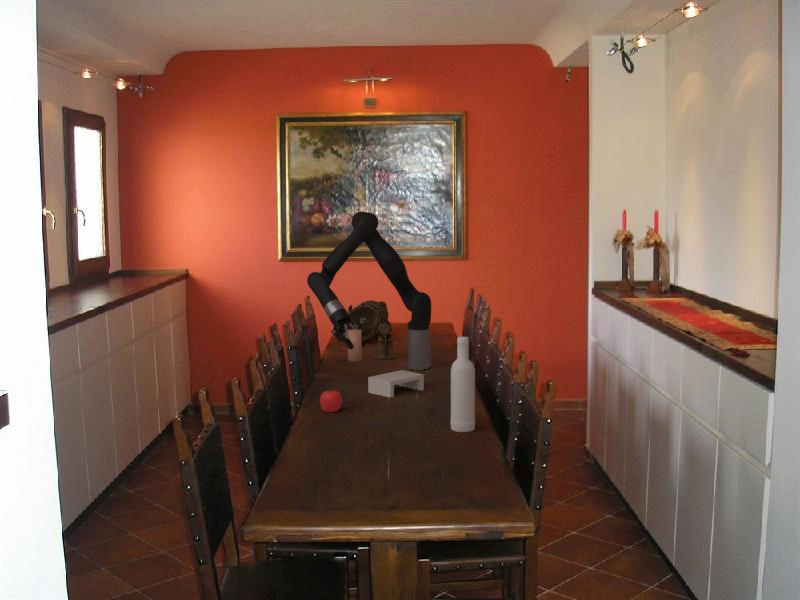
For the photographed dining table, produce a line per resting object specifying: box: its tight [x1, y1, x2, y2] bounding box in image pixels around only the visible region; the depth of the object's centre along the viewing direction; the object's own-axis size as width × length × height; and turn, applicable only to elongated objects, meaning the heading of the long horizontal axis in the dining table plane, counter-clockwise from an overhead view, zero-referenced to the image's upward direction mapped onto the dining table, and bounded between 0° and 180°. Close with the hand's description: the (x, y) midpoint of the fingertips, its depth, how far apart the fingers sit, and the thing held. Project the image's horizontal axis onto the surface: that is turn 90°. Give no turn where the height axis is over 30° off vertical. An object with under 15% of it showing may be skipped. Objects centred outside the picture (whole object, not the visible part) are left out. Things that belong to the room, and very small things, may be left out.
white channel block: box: [367, 369, 425, 398], centre depth 342 cm, size 18×12×6 cm, turn 135°
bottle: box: [450, 336, 476, 433], centre depth 286 cm, size 8×8×30 cm
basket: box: [347, 300, 393, 342], centre depth 459 cm, size 24×22×35 cm
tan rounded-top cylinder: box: [347, 329, 363, 362], centre depth 349 cm, size 6×6×12 cm
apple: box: [319, 388, 343, 413], centre depth 312 cm, size 8×8×8 cm
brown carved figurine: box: [374, 322, 396, 361], centre depth 405 cm, size 9×14×18 cm, turn 0°
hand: (357, 346), depth 348 cm, fingers closed on tan rounded-top cylinder, 5 cm apart
